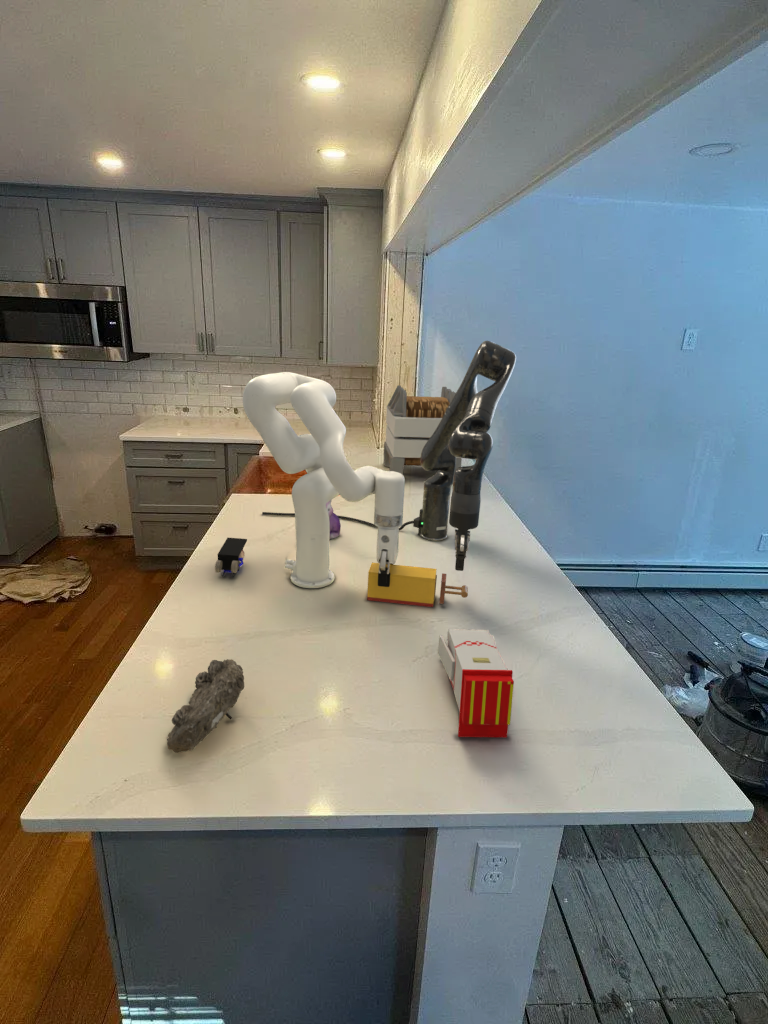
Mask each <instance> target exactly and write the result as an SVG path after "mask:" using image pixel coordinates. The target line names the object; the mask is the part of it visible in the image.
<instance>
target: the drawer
mask: <svg viewBox="0 0 768 1024" xmlns="http://www.w3.org/2000/svg"><path fill="white" fill-rule="evenodd" d="M437 577H438V574H436V579H435V590H434V602H435V600H436V590H437ZM440 583H441V584H440V590H439V591H440V592H439V604H440V605H444V604H445V597H446V596H445V595H455V596H456V595H457V596H461V597H462V598H463V599H464V598H467V597H468V596H469V587H468V586H467V585H465V584H464V585H461V586H454V585H447V573H441V581H440ZM446 589H449V590H446ZM453 590H458V591H453Z"/></svg>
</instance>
